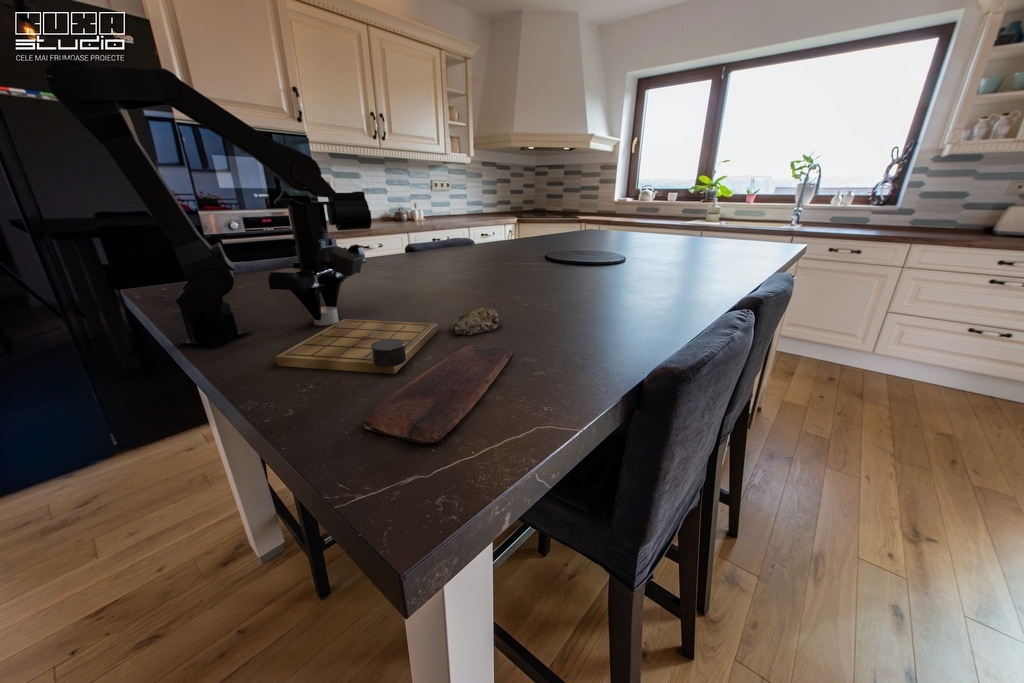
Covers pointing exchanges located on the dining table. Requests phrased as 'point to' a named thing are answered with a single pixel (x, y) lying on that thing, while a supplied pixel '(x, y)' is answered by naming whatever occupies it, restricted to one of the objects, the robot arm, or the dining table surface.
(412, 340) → the game board
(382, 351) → the black stone
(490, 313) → the mineral rock
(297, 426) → the dining table surface
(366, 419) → the wooden tablet
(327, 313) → the cream stone
